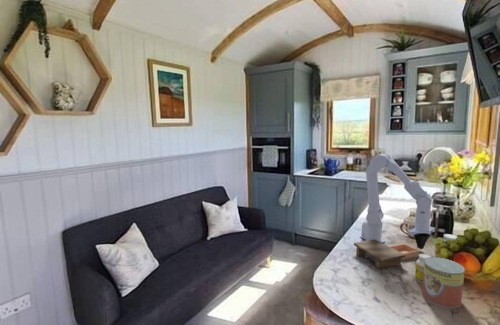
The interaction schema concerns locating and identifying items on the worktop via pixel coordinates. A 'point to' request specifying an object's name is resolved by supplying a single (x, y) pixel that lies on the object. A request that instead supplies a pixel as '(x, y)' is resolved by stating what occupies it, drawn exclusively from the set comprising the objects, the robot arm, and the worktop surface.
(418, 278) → the supplement bottle
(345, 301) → the worktop surface
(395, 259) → the overhang
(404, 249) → the peach open box
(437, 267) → the canned food
